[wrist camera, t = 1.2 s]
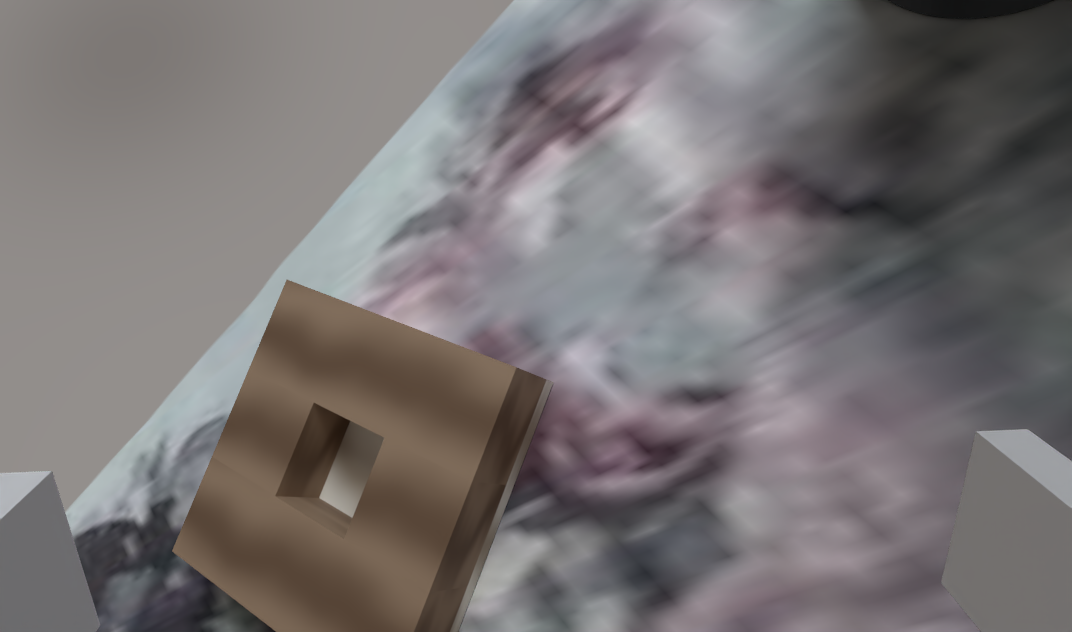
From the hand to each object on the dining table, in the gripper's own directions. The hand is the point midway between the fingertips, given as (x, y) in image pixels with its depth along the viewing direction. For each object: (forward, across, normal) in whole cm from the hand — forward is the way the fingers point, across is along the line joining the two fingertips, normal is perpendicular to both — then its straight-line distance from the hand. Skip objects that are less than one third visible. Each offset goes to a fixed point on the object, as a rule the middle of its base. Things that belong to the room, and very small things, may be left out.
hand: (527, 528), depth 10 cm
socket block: (+33, -10, -20) cm, 40 cm away
